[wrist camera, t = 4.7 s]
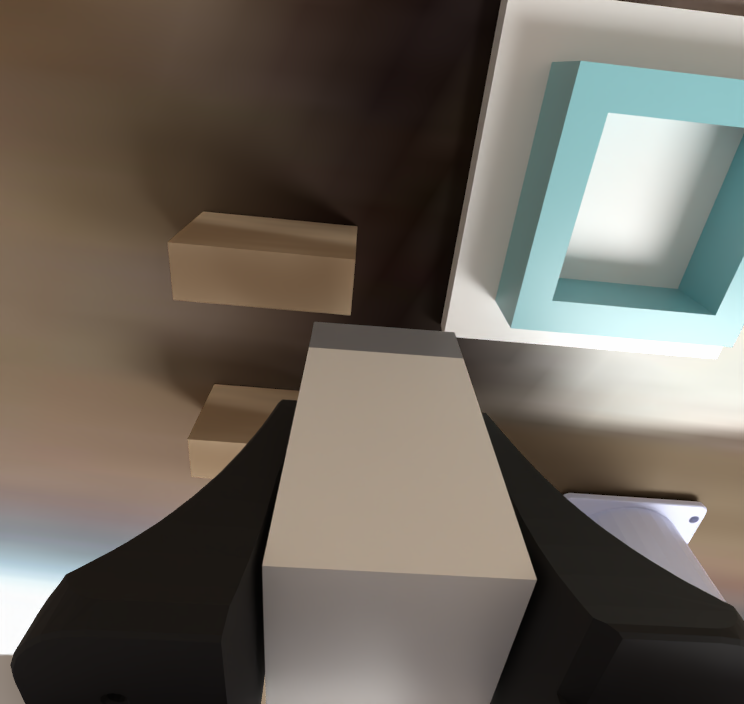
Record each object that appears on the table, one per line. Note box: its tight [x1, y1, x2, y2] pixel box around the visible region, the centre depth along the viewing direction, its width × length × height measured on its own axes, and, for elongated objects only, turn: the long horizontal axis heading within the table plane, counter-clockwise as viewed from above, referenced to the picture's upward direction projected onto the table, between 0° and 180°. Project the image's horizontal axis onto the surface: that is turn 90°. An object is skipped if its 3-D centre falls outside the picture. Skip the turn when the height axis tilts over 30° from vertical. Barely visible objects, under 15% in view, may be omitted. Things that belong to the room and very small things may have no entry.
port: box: [441, 0, 744, 359], centre depth 18 cm, size 12×12×4 cm
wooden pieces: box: [167, 211, 357, 479], centre depth 20 cm, size 10×6×4 cm, turn 174°
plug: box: [262, 322, 537, 704], centre depth 12 cm, size 4×4×8 cm
